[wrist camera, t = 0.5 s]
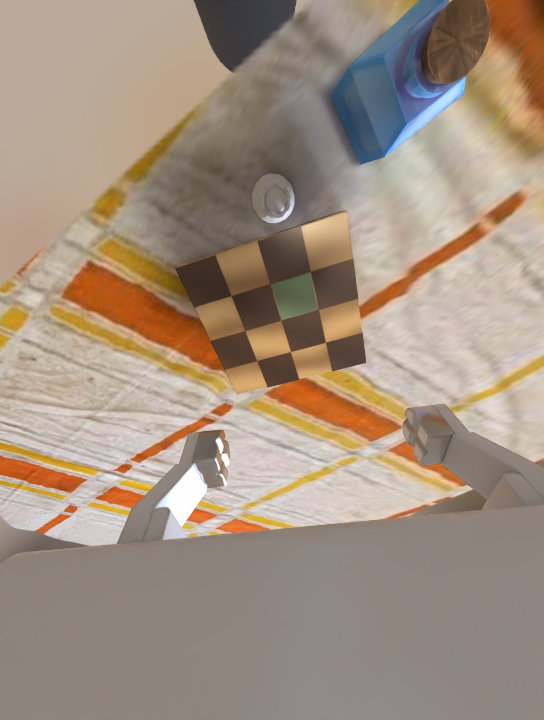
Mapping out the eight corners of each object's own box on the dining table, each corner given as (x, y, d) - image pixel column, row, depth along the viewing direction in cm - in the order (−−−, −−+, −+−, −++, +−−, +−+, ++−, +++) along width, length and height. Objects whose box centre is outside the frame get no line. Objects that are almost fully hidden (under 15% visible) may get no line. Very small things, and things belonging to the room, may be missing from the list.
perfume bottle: (330, 95, 23) (380, 19, 13) (395, 34, 22) (511, -107, 11) (360, 164, 26) (420, 145, 16) (420, 116, 24) (531, 60, 14)
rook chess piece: (277, 231, 29) (282, 242, 23) (243, 205, 28) (237, 209, 21) (302, 192, 27) (314, 192, 21) (267, 162, 26) (268, 151, 19)
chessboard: (177, 266, 31) (175, 268, 30) (344, 210, 28) (347, 210, 27) (237, 390, 41) (236, 395, 41) (363, 358, 39) (366, 362, 38)
